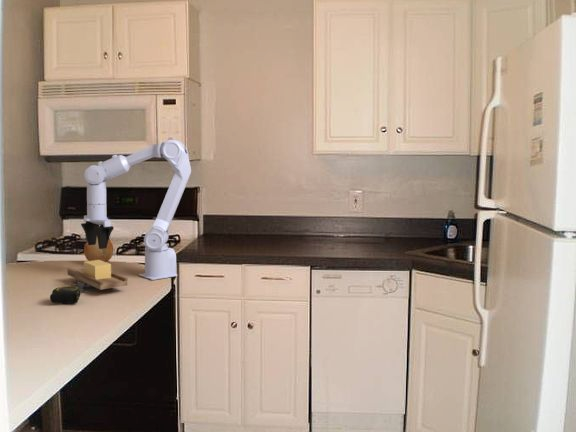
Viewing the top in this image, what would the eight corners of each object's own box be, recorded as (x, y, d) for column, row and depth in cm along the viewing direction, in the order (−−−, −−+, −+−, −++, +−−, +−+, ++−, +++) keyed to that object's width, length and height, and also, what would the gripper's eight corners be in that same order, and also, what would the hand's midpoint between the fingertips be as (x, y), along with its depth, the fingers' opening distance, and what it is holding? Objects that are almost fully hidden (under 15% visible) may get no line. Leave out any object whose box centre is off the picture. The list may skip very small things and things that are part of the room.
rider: (99, 272, 160) (99, 259, 160) (111, 277, 155) (110, 264, 154) (83, 275, 157) (83, 261, 156) (95, 279, 151) (95, 266, 151)
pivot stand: (109, 280, 164) (109, 274, 164) (122, 285, 158) (122, 279, 158) (70, 286, 155) (70, 280, 155) (82, 292, 150) (82, 285, 149)
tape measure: (49, 306, 137) (48, 292, 136) (56, 299, 143) (55, 285, 143) (77, 306, 138) (76, 292, 137) (82, 298, 144) (82, 285, 144)
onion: (96, 268, 179) (95, 239, 178) (78, 264, 185) (77, 235, 184) (119, 263, 187) (119, 235, 186) (101, 259, 193) (101, 232, 192)
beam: (93, 272, 167) (92, 264, 167) (127, 287, 152) (127, 278, 151) (67, 276, 161) (67, 268, 161) (100, 291, 146) (100, 282, 146)
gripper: (74, 202, 169) (75, 244, 170) (94, 206, 159) (95, 251, 160) (95, 201, 174) (96, 242, 175) (117, 205, 164) (117, 249, 165)
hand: (97, 246), depth 168 cm, fingers open, 7 cm apart
